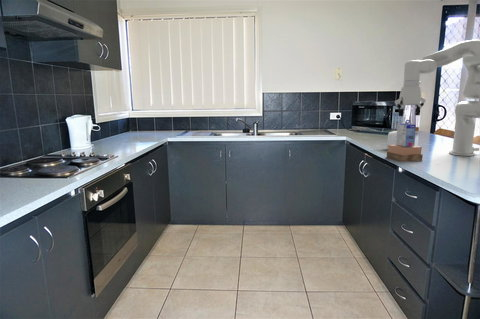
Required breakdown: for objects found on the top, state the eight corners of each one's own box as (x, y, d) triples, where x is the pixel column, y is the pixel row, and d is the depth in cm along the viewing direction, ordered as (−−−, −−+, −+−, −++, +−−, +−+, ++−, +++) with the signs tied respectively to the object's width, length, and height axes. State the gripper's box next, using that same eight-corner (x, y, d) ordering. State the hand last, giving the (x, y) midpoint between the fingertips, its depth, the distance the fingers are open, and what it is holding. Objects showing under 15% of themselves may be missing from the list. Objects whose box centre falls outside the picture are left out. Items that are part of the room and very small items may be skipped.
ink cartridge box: (415, 146, 171) (416, 120, 169) (405, 147, 171) (406, 120, 169) (405, 144, 181) (405, 119, 179) (395, 144, 181) (396, 119, 178)
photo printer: (401, 148, 211) (403, 130, 209) (404, 149, 207) (405, 131, 205) (385, 148, 212) (387, 130, 210) (388, 150, 208) (389, 131, 206)
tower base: (407, 157, 185) (407, 150, 184) (421, 161, 172) (422, 154, 171) (386, 158, 184) (387, 151, 183) (399, 162, 171) (400, 155, 170)
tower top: (405, 150, 184) (405, 144, 183) (421, 154, 173) (421, 146, 172) (387, 151, 182) (388, 145, 181) (402, 155, 170) (402, 148, 169)
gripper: (421, 83, 174) (419, 114, 177) (392, 85, 172) (390, 116, 176) (430, 83, 167) (428, 115, 170) (400, 84, 165) (398, 116, 168)
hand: (409, 115), depth 173 cm, fingers open, 9 cm apart
